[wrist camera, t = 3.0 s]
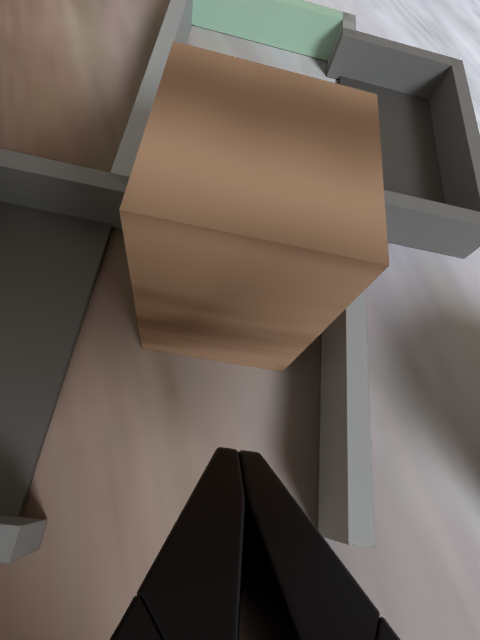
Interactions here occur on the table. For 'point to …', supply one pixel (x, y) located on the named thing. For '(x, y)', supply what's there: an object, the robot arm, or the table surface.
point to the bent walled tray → (103, 214)
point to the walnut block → (251, 209)
